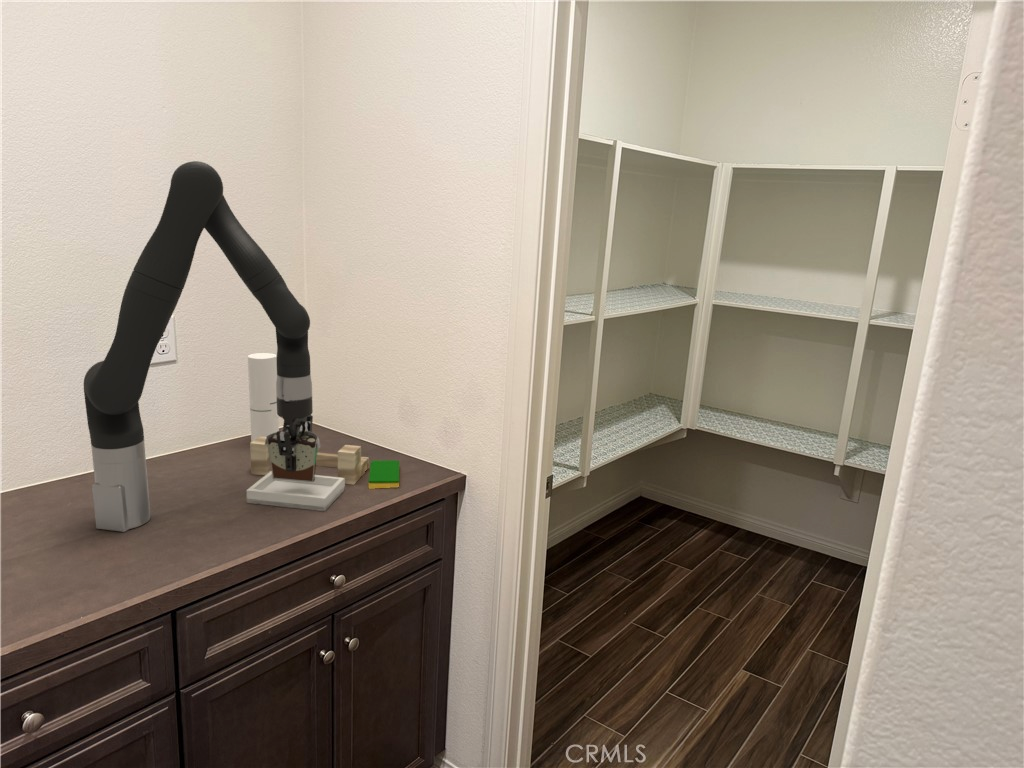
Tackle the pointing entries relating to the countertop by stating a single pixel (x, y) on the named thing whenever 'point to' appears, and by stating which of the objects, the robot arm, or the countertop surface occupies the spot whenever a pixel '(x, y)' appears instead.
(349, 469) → the holder
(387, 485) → the dish sponge
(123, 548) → the countertop surface
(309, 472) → the food container
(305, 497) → the tray
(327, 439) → the countertop surface
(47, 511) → the countertop surface
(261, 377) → the cylindrical container
